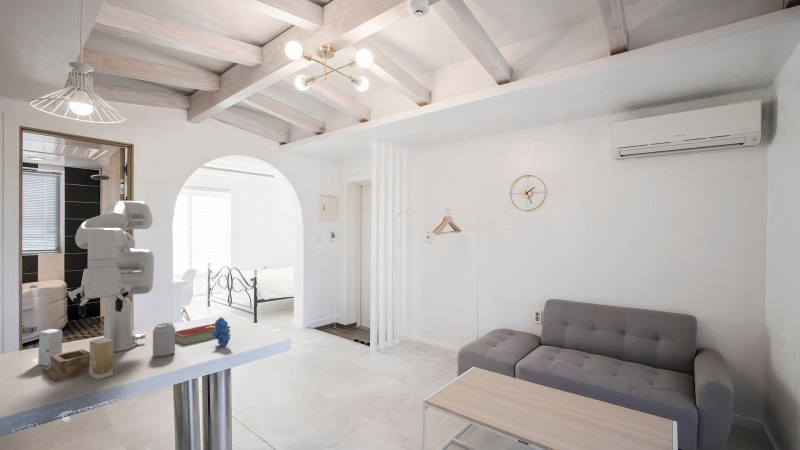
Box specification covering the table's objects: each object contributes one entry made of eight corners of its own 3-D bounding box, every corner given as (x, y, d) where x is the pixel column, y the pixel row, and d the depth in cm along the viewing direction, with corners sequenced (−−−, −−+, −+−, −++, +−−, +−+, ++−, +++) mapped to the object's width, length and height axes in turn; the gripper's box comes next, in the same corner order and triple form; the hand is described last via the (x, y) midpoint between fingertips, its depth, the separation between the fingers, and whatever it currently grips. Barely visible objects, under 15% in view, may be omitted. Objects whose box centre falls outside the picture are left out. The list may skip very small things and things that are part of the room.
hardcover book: (171, 340, 165) (171, 331, 165) (218, 330, 181) (218, 321, 181) (182, 345, 157) (183, 336, 157) (230, 334, 174) (230, 325, 174)
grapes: (206, 345, 157) (206, 317, 157) (222, 341, 162) (222, 314, 162) (217, 351, 149) (217, 322, 150) (233, 347, 155) (233, 319, 155)
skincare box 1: (37, 364, 135) (37, 331, 135) (52, 360, 139) (52, 328, 139) (48, 366, 133) (48, 333, 133) (62, 361, 137) (63, 329, 137)
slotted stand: (86, 361, 138) (86, 346, 138) (100, 369, 130) (100, 354, 130) (42, 371, 128) (43, 356, 128) (55, 381, 120) (55, 364, 120)
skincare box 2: (88, 376, 124) (88, 340, 124) (102, 372, 128) (103, 337, 128) (99, 379, 121) (99, 343, 121) (113, 375, 125) (114, 339, 125)
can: (179, 352, 148) (179, 323, 148) (160, 358, 141) (160, 327, 141) (167, 350, 151) (167, 321, 151) (148, 355, 144) (148, 325, 144)
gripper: (126, 261, 134) (126, 308, 134) (65, 265, 119) (64, 317, 119) (135, 262, 130) (135, 310, 130) (73, 266, 115) (72, 320, 115)
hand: (101, 314), depth 124 cm, fingers open, 9 cm apart
